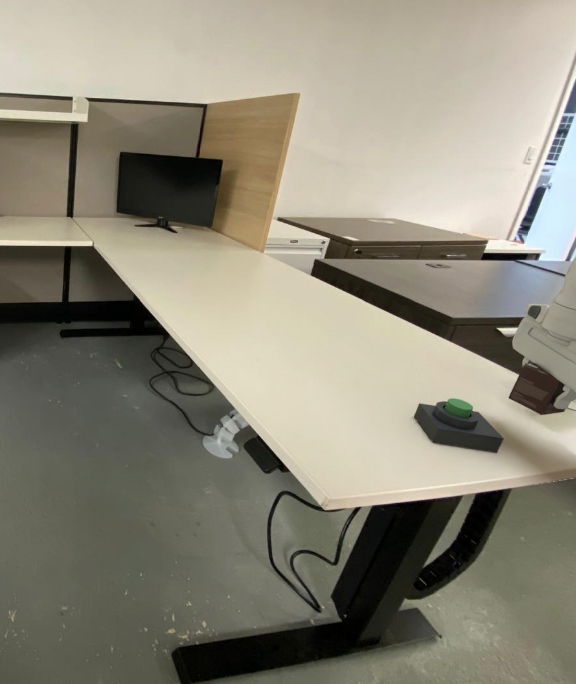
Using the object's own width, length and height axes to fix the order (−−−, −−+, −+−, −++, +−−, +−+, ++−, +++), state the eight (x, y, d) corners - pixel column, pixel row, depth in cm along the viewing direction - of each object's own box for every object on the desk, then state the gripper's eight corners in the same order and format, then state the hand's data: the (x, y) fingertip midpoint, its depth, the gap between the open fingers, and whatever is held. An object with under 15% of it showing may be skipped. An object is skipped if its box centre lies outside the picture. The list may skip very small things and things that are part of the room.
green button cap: (462, 409, 90) (466, 400, 89) (473, 420, 87) (477, 411, 86) (440, 405, 91) (444, 396, 90) (449, 416, 87) (454, 407, 86)
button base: (472, 425, 94) (482, 404, 92) (497, 452, 86) (508, 430, 84) (413, 416, 95) (422, 395, 93) (432, 442, 87) (442, 420, 85)
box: (564, 413, 84) (585, 377, 80) (540, 416, 82) (560, 380, 79) (529, 395, 89) (547, 361, 86) (506, 398, 87) (523, 363, 84)
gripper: (652, 352, 69) (604, 429, 75) (559, 306, 87) (526, 371, 93) (604, 346, 70) (560, 422, 75) (522, 301, 88) (491, 366, 94)
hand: (541, 393), depth 84 cm, fingers closed on box, 7 cm apart
